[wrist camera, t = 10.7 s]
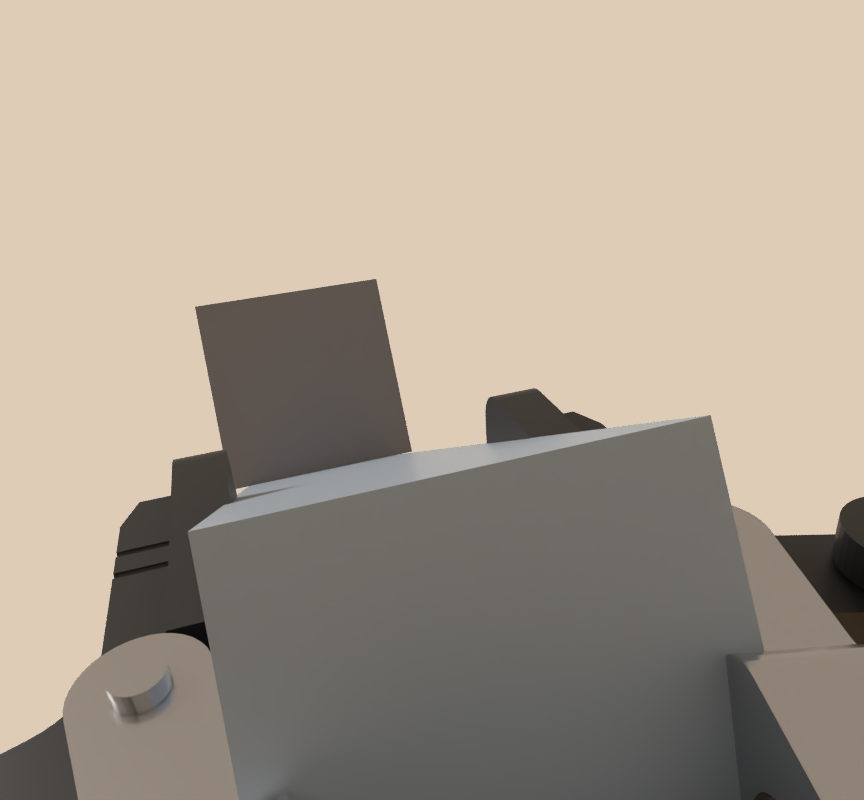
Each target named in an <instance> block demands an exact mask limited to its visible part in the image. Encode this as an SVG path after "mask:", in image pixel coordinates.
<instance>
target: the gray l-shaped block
mask: <svg viewBox="0 0 864 800" xmlns="http://www.w3.org/2000/svg"><path fill="white" fill-rule="evenodd" d="M195 308H196V313H197V319H198V324H199V329H200V334H201V339H202V345H203V349H204V355H205V360H206V365H207V370H208V376H209V381H210V385H211V391H212V396H213V401H214V406H215V412H216V416H217V422H218V427H219V432H220V437H221V443H222V448H223V450H226V452H227V455H228V459H229V463H230V467H231V471H232V476H233V480H234V485H235V489H237V488H242V487H246V486H249V487H248V488H246V489H245V490H244V491H242V492H241V493H239V494H238V495H237V498H236V499H235V500H234V501H233V502H231V503H230V504H226V505H223V506H222V507H220V508H219V509H218V510H216V511H215V512H214V513H212V514H211V515H210V516H208V517H207V518H206V519H204V520H203V521H202V522H200V523H199V524H197V525H196V526H195V527H193V528H192V529H191V530H189V531H188V536H189V541H190V547H191V552H192V557H193V562H194V568H195V573H196V578H197V583H198V589H199V594H200V599H201V604H202V610H203V615H204V620H205V625H206V631H207V636H208V641H209V646H210V652H211V657H212V662H213V667H214V673H215V678H216V683H217V688H218V694H219V699H220V704H221V709H222V715H223V720H224V725H225V730H226V736H227V741H228V746H229V751H230V757H231V762H232V767H233V772H234V778H235V783H236V788H237V793H238V799H239V800H272V799H274V798H276V797H277V796H279V795H281V794H283V793H285V794H286V795H287V796H288V798H289V799H290V800H741V797H740V788H739V778H738V769H737V760H736V750H735V741H734V732H733V722H732V713H731V703H730V694H729V685H728V675H727V666H726V656H725V655H727V654H734V653H747V652H760V651H764V647H763V643H762V638H761V634H760V630H759V625H758V621H757V616H756V612H755V608H754V603H753V599H752V595H751V590H750V586H749V581H748V577H747V573H746V568H745V564H744V560H743V555H742V551H741V546H740V542H739V538H738V533H737V529H736V525H735V520H734V516H733V511H732V507H731V503H730V498H729V494H728V490H727V485H726V481H725V477H724V472H723V468H722V463H721V459H720V455H719V450H718V446H717V441H716V437H715V433H714V429H713V424H712V420H711V416H710V415H709V416H701V417H694V418H685V419H677V420H670V421H661V422H653V423H645V424H638V425H629V426H622V427H613V428H605V429H597V430H590V431H582V432H574V433H566V434H558V435H550V436H542V437H535V438H529V439H521V440H513V441H505V442H497V443H489V444H487V443H486V444H479V445H470V446H462V447H455V448H447V449H439V450H431V451H424V452H415V453H408V454H402V453H406V452H411V451H412V450H411V445H410V441H409V436H408V431H407V426H406V421H405V417H404V412H403V407H402V402H401V397H400V392H399V387H398V383H397V378H396V373H395V368H394V364H393V358H392V354H391V349H390V344H389V339H388V334H387V330H386V325H385V320H384V315H383V311H382V305H381V301H380V296H379V291H378V287H377V281H376V279H373V280H367V281H360V282H354V283H348V284H341V285H335V286H328V287H321V288H315V289H309V290H302V291H295V292H289V293H282V294H276V295H269V296H263V297H257V298H250V299H244V300H237V301H230V302H224V303H218V304H211V305H204V306H198V307H195ZM397 454H399V455H397Z"/></svg>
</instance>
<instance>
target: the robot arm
mask: <svg viewBox="0 0 864 800" xmlns="http://www.w3.org/2000/svg"><path fill="white" fill-rule="evenodd" d="M605 428H606V427H605V426H604V425H602V424H601V423H599V422H597V421H594V420H592V419H589V418H587V417H585V416H582V415H580V414H578V413H575V412H569V413H565V414H563V413H562V412H561V411H560V410H559V409H558V408H557V407H556V406H555V405H554V404H552V403H551V402H550V401H549V400H548V399H547V398H546V397H545V396H544V395H543V394H542V393H541V392H540V391H539V390H537V389H529V390H524V391H519V392H514V393H509V394H504V395H498V396H493V397H490V398H489V399H488V401H487V404H486V435H487V444H489V443H497V442H505V441H513V440H521V439H529V438H535V437H542V436H550V435H558V434H566V433H574V432H582V431H590V430H597V429H605ZM236 498H237V494H236V489H235V485H234V480H233V476H232V471H231V467H230V463H229V459H228V455H227V452H226V450H221V451H216V452H211V453H206V454H201V455H196V456H191V457H186V458H181V459H176V460H173V463H172V487H171V496H167V497H163V498H158V499H153V500H148V501H144V502H140V503H139V504H138V505H137V506H136V508H135V509H134V510H133V511H132V513H131V514H130V515H129V517H128V518H127V519H126V521H125V522H124V523H123V524H122V526H121V527H120V533H119V540H118V546H117V557H116V560H115V567H114V573H113V574H114V579H113V580H112V588H111V594H110V601H109V608H108V615H107V621H106V628H105V635H104V642H103V649H102V655H101V657H100V658H98V659H97V660H96V661H94V662H93V663H92V664H91V665H90V666H89V667H87V668H86V669H85V670H84V671H83V672H82V674H81V675H80V676H79V677H78V678H77V680H76V681H75V682H74V684H73V685H72V687H71V689H70V690H69V692H68V695H67V697H66V699H65V702H64V708H63V717H62V718H61V719H60V720H58V721H57V722H56V723H55V724H53V725H52V726H50V727H49V728H47V729H46V730H45V731H43V732H42V733H40V734H38V735H36V736H35V737H33V738H31V739H29V740H27V741H26V742H24V743H22V744H20V745H18V746H16V747H14V748H12V749H10V750H8V751H6V752H4V753H3V754H0V800H239V799H238V793H237V788H236V783H235V778H234V772H233V767H232V762H231V757H230V751H229V746H228V741H227V736H226V730H225V725H224V720H223V715H222V709H221V704H220V699H219V694H218V688H217V683H216V678H215V673H214V667H213V662H212V657H211V652H210V646H209V641H208V636H207V631H206V625H205V620H204V615H203V610H202V604H201V599H200V594H199V589H198V583H197V578H196V573H195V568H194V562H193V557H192V552H191V547H190V541H189V536H188V531H189V530H191V529H192V528H193V527H195V526H196V525H197V524H199V523H200V522H202V521H203V520H204V519H206V518H207V517H208V516H210V515H211V514H212V513H214V512H215V511H216V510H218V509H219V508H220V507H222V506H223V505H226V504H230V503H231V502H233V501H234V500H235V499H236ZM731 507H732V511H733V516H734V520H735V525H736V529H737V533H738V538H739V542H740V546H741V551H742V555H743V560H744V564H745V568H746V573H747V577H748V581H749V586H750V590H751V595H752V599H753V603H754V608H755V612H756V616H757V621H758V625H759V630H760V634H761V638H762V643H763V647H764V651H760V652H747V653H734V654H727V655H725V656H726V666H727V675H728V685H729V694H730V703H731V713H732V722H733V732H734V741H735V750H736V760H737V769H738V778H739V788H740V797H741V800H864V497H862V498H858V499H855V500H853V501H851V502H849V503H847V504H846V505H845V506H844V507H843V508H842V510H841V512H840V516H839V521H838V526H837V530H836V534H835V535H790V536H774V534H773V533H772V532H771V530H770V529H769V528H768V527H767V526H766V525H765V524H764V523H763V522H762V521H761V520H759V519H758V518H757V517H755V516H754V515H752V514H750V513H748V512H746V511H744V510H742V509H740V508H737V507H734V506H731ZM272 800H290V799H289V798H288V796H287V795H286V794H285V793H283V794H281V795H279V796H277V797H276V798H274V799H272Z"/></svg>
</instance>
